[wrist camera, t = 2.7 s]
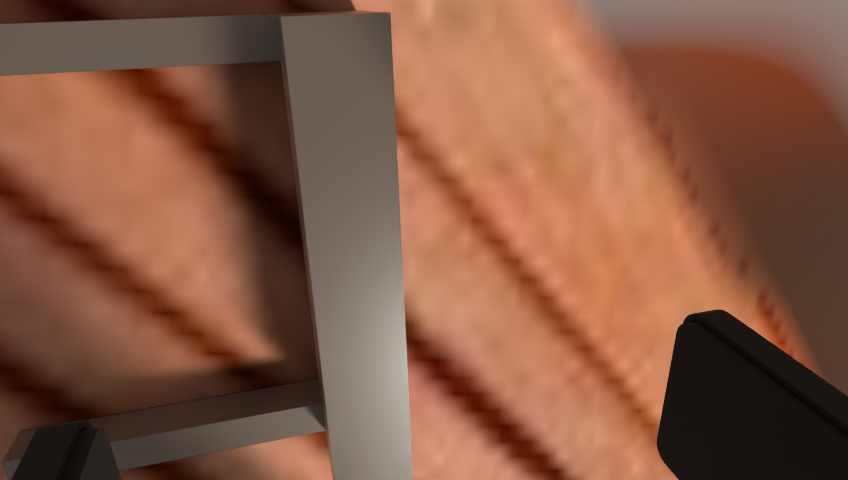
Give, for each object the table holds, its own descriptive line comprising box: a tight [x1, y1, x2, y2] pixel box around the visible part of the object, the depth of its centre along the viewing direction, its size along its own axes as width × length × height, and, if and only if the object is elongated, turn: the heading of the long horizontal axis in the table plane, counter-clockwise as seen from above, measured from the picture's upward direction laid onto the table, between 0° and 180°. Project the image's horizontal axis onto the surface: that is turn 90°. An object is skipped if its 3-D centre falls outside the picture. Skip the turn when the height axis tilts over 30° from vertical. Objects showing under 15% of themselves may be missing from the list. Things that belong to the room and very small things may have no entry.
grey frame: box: [0, 11, 413, 480], centre depth 17 cm, size 12×14×5 cm
